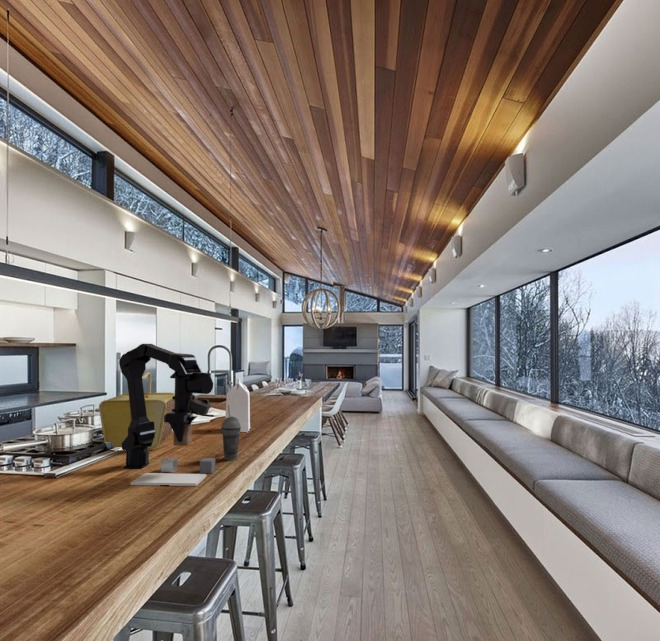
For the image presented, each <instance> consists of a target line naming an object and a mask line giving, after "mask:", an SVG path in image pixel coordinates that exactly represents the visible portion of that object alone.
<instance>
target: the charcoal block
mask: <svg viewBox="0 0 660 641" xmlns="http://www.w3.org/2000/svg"><path fill="white" fill-rule="evenodd" d="M215 471H216V458H215V457H203V458H202V459H201V460H199V474H212V473H214V472H215Z"/></svg>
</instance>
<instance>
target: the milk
mask: <svg viewBox="0 0 660 641" xmlns="http://www.w3.org/2000/svg"><path fill="white" fill-rule="evenodd" d="M250 394H251V393H250V391H249V389H248V387H247V386H246V385H245V384H243V383H242V381H241V377H236V384H235V385H234V386H233V387H232V388H231V389H230V390H229V391H228V392H227V393H226V400H225V418H224V420H225V419H226V418H228V417H229V411H228V405H229V408H230V417H235V418H237V419H238V420H239V422H240V425H241V428H240V432H246V433H249V432H250V430H251V404H250V401H251V400H250V398H251V397H250ZM249 429H250V430H249ZM248 431H249V432H248Z"/></svg>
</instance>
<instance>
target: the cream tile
mask: <svg viewBox="0 0 660 641" xmlns="http://www.w3.org/2000/svg"><path fill="white" fill-rule="evenodd" d="M206 477H207V473H174V472H173V473H164V472H159V473H158V472H144V473H143V474H142V475H140V476H138V477H136V478H135V479H134V480H131V482H130V486H160V485H169V486H168V487H173V486H175V487H176V486H177V487H197V486H198V485H199V484H200V483H201V482H202V481H204V479H205V478H206Z"/></svg>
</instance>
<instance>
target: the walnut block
mask: <svg viewBox="0 0 660 641" xmlns="http://www.w3.org/2000/svg"><path fill="white" fill-rule="evenodd" d="M192 438H193V424H191V425H187V424H186V425H185V428H184V434H183V439H182V442H178V440H177V438H176V436H175V433H174V432H173V447H174V446H175V447H176V446H182V447H183V446H184V447H185V446H190V444H192V443H193V439H192Z"/></svg>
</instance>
